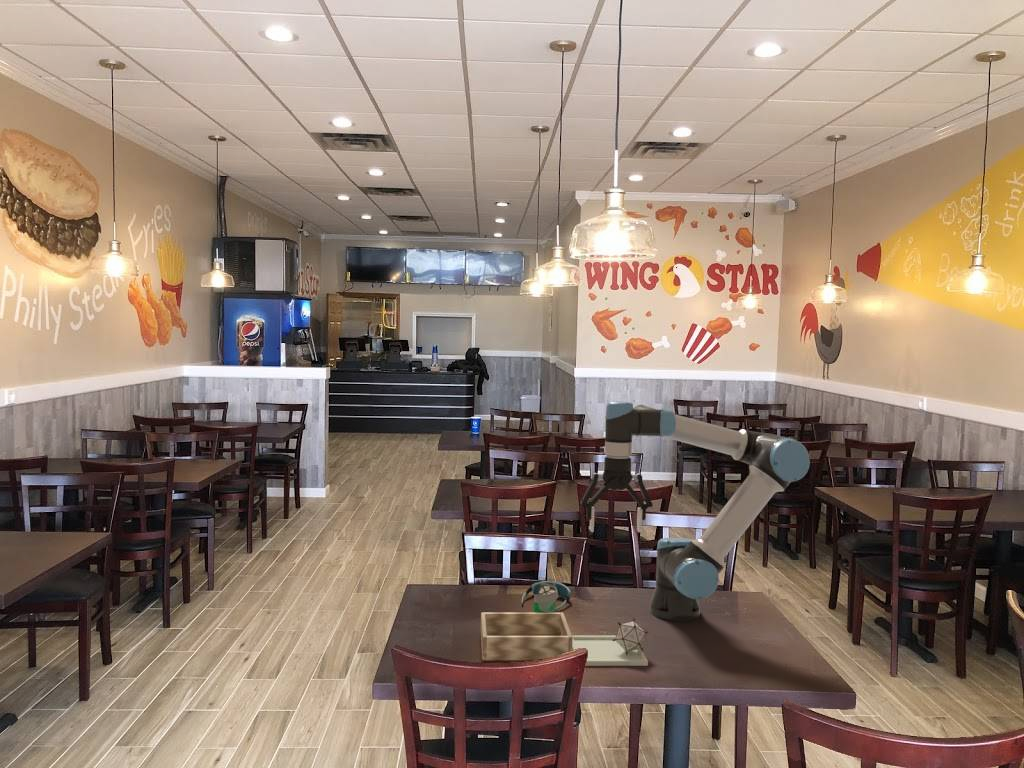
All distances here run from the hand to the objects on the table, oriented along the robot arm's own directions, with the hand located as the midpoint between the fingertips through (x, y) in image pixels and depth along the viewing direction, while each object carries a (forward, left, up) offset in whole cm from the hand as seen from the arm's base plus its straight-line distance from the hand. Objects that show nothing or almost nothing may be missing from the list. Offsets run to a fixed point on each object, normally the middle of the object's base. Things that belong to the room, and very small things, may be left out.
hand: (615, 531), depth 215 cm
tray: (+5, +15, -29) cm, 33 cm away
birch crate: (+26, +11, -29) cm, 40 cm away
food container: (+18, -6, -29) cm, 35 cm away
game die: (+3, +15, -26) cm, 30 cm away
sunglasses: (+16, -23, -29) cm, 41 cm away
